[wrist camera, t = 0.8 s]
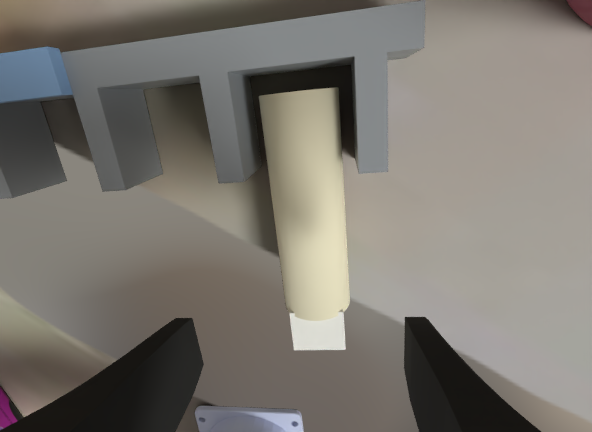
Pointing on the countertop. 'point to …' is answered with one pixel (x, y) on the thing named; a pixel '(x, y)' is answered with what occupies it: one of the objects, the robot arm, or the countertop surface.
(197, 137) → the countertop surface
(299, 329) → the cream cylinder column
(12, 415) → the candy bar box
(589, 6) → the plant pot
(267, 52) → the grey comb rack
